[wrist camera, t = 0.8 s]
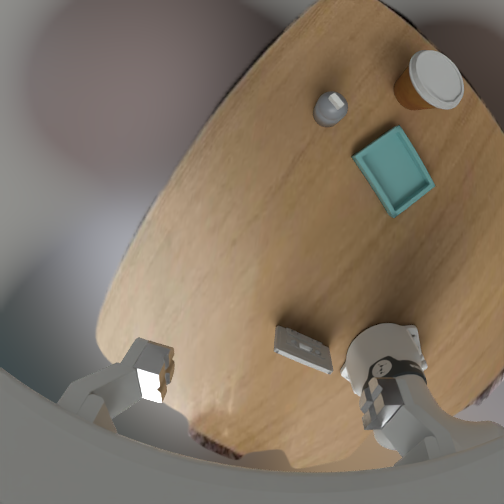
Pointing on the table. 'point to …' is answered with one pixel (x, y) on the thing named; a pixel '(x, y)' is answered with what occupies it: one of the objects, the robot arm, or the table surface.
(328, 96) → the gray bottle
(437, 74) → the disposable coffee cup
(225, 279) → the table surface
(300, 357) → the cassette
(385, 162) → the tray
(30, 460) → the robot arm
